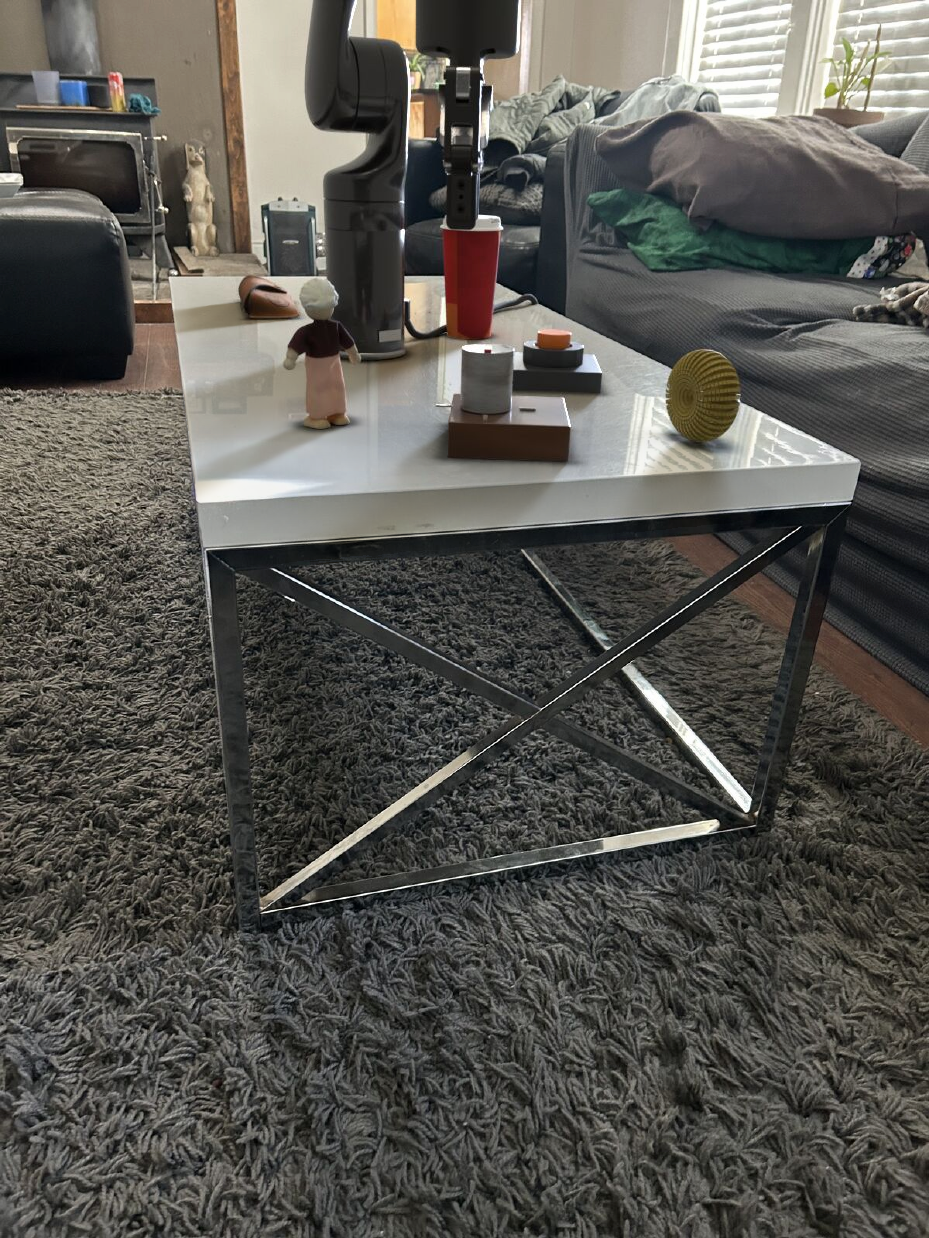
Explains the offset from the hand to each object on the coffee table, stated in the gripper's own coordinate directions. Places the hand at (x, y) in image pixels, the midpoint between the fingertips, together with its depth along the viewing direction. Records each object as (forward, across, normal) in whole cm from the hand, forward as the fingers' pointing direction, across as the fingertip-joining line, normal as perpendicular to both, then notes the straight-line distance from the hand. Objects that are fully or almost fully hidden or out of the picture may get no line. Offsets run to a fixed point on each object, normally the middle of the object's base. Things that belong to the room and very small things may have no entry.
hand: (462, 225), depth 75 cm
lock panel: (+18, +1, -4) cm, 18 cm away
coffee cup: (+18, +53, +1) cm, 56 cm away
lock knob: (+15, +1, -2) cm, 15 cm away
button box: (+18, +26, -9) cm, 33 cm away
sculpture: (+18, +4, -21) cm, 28 cm away
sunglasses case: (+18, +70, +32) cm, 78 cm away
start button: (+14, +26, -9) cm, 31 cm away
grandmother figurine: (+18, +5, +13) cm, 22 cm away
